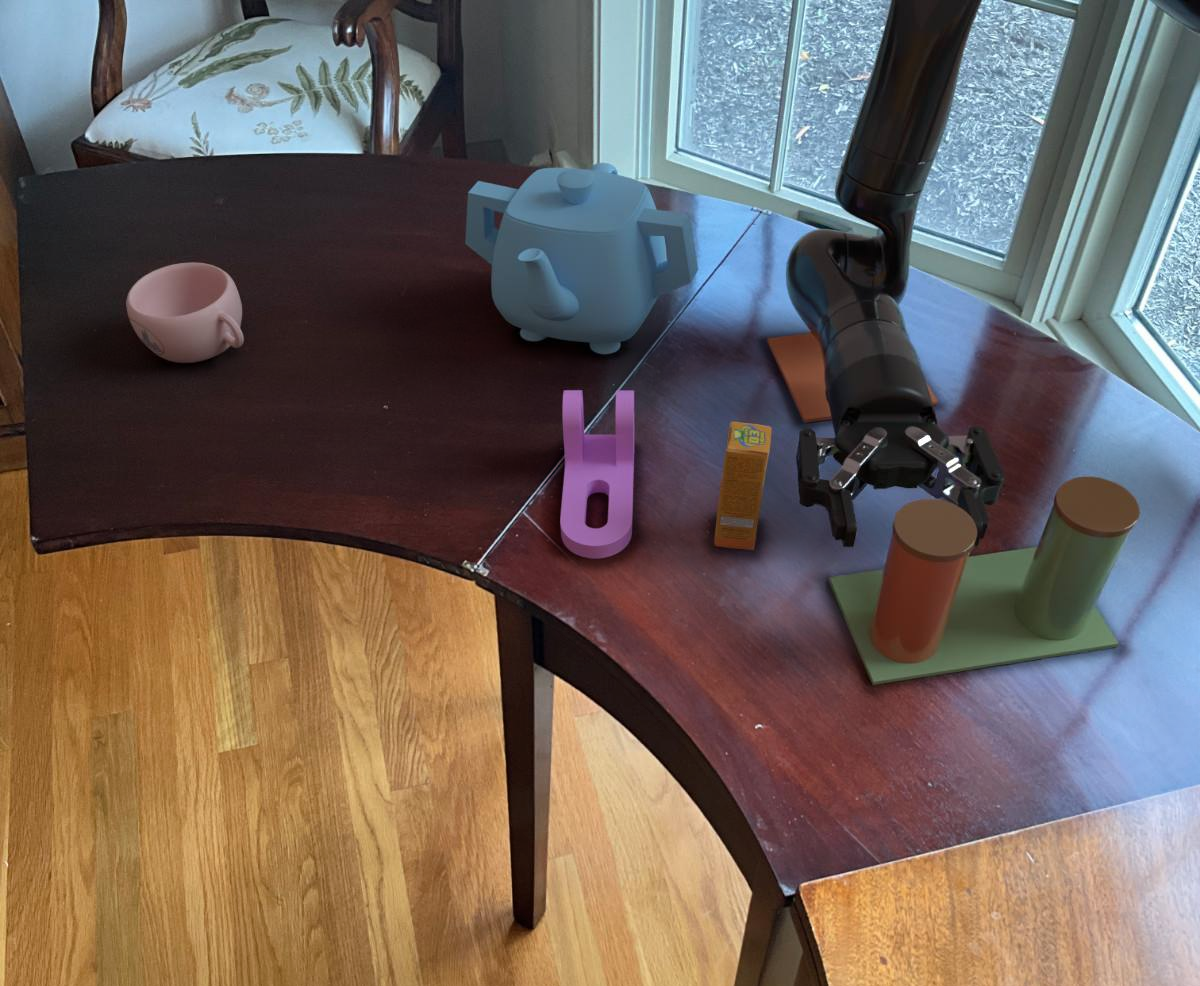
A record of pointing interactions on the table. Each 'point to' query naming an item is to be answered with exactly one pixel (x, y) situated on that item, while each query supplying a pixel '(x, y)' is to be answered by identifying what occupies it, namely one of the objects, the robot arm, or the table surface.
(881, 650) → the terracotta canister
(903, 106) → the robot arm
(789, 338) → the terracotta mat
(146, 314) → the mug
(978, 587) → the sage mat
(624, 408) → the bracket
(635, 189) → the teapot
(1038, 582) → the sage canister
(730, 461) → the supplement box
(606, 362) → the table surface
